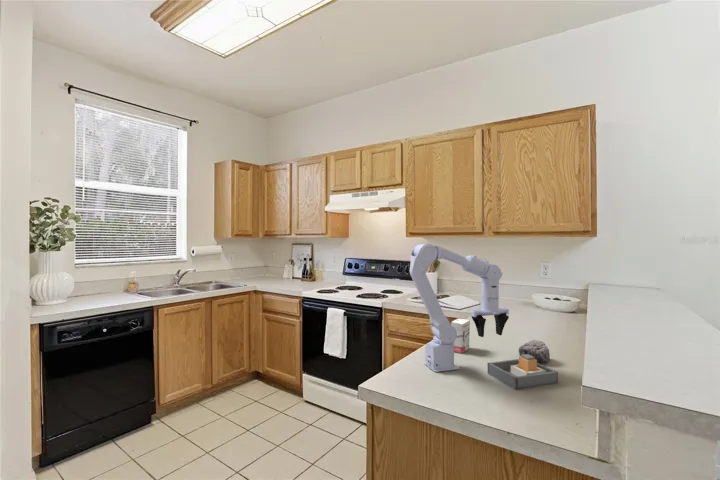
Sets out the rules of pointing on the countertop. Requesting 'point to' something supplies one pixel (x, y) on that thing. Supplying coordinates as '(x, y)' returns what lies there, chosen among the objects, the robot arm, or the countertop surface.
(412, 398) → the countertop surface
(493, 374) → the walled box
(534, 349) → the pumice stone
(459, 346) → the ink box
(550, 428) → the countertop surface
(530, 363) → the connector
